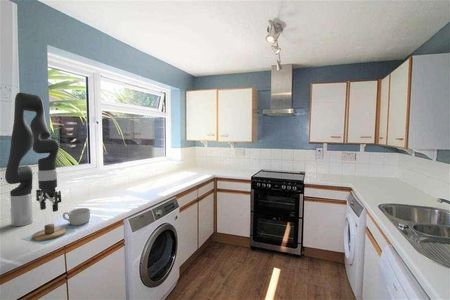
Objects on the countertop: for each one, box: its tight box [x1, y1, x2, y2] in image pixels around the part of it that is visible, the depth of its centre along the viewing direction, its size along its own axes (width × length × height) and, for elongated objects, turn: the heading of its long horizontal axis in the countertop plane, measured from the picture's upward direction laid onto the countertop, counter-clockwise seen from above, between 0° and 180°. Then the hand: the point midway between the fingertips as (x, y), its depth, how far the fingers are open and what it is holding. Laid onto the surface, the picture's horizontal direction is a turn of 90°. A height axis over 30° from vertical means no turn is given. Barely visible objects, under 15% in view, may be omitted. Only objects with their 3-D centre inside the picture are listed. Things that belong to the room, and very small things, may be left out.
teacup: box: [62, 207, 91, 226], centre depth 137 cm, size 14×11×8 cm
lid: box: [31, 223, 66, 241], centre depth 120 cm, size 14×14×5 cm
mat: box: [22, 226, 76, 245], centre depth 120 cm, size 16×16×1 cm
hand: (49, 210), depth 119 cm, fingers open, 8 cm apart
